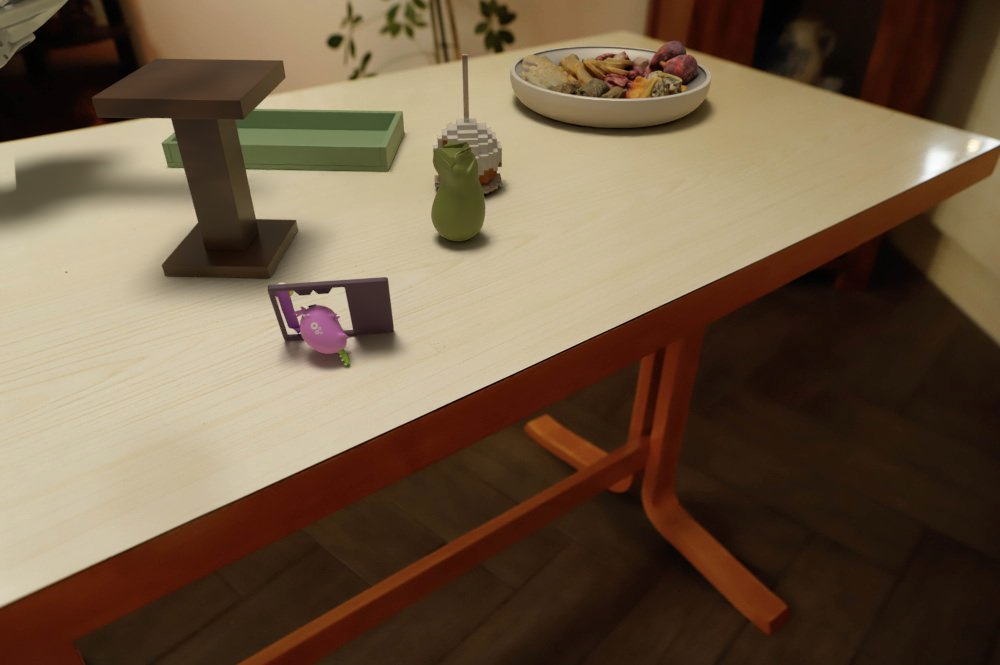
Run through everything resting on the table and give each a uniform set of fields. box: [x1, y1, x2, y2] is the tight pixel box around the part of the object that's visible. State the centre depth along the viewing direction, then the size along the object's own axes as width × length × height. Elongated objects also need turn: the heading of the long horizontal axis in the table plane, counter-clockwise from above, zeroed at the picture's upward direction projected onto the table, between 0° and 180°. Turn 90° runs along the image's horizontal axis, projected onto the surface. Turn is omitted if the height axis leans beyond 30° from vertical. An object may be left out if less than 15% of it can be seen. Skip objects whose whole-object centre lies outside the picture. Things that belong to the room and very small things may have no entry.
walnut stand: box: [91, 58, 299, 279], centre depth 67 cm, size 12×12×17 cm
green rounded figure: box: [430, 141, 486, 242], centre depth 72 cm, size 6×5×10 cm
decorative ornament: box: [432, 53, 503, 195], centre depth 81 cm, size 8×8×15 cm
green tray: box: [161, 108, 405, 172], centre depth 94 cm, size 28×14×3 cm, turn 88°
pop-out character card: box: [267, 276, 395, 366], centre depth 56 cm, size 7×5×9 cm
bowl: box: [509, 40, 712, 129], centre depth 109 cm, size 30×30×8 cm
